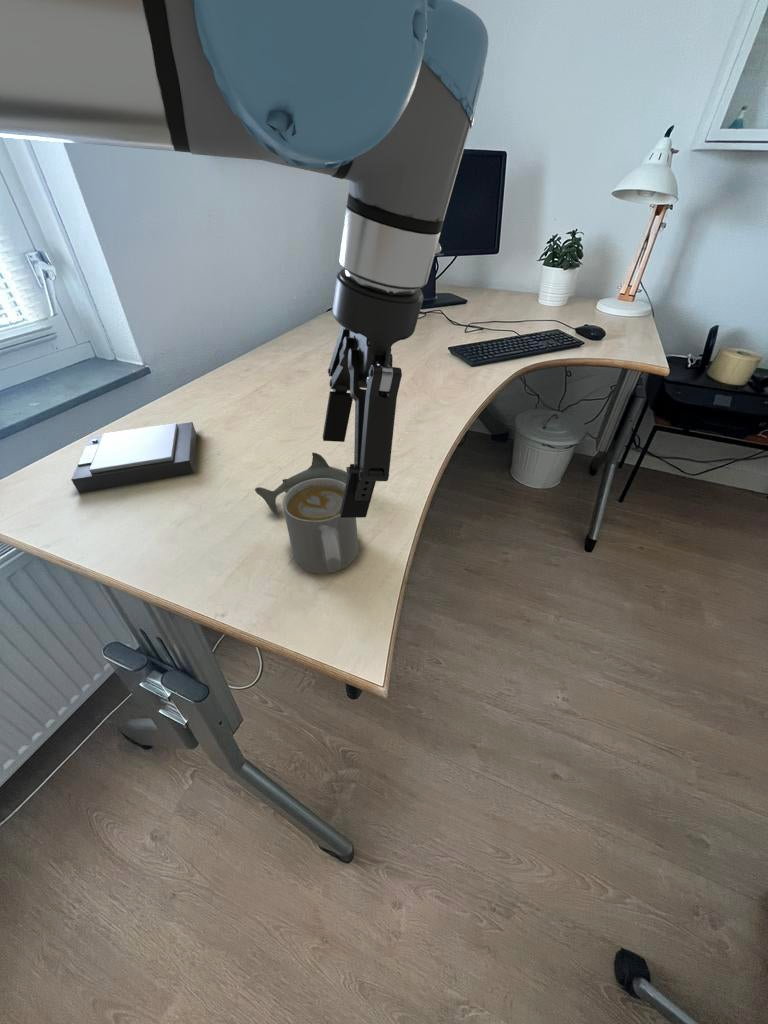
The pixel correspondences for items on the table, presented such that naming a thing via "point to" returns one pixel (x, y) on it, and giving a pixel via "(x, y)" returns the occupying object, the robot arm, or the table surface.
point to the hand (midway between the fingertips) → (342, 474)
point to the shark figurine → (302, 480)
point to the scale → (136, 456)
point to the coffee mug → (320, 526)
